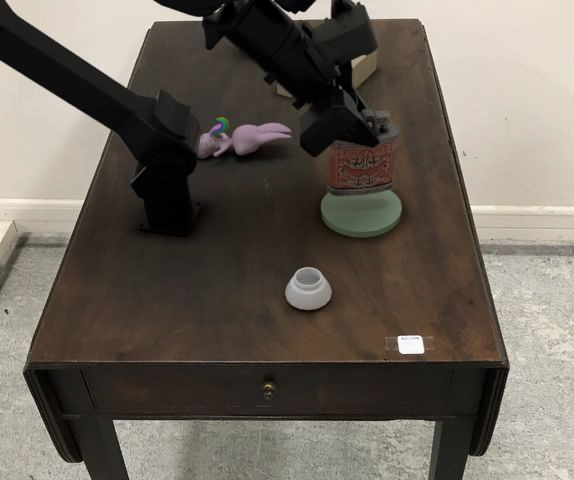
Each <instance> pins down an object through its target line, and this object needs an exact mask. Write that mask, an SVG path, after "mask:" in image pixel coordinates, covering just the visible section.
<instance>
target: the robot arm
mask: <svg viewBox="0 0 574 480" xmlns="http://www.w3.org/2000/svg"><path fill="white" fill-rule="evenodd" d="M152 1H153V2H155V3H156V4H158V5H159V6H161V7H165V8H167V9H170V10H173V11H175V12H179V13H181V14H185V15H187V16H191V17H195V18H201V26H202V30H203V33H204V43H205V44H204V48H205V49H206V50H207V51H212V50H213V49H214V48H215V47H216V46H217V45H218V44H219V42H220V41H221V40H222V39H223V38H225V39H226V40H227V41H228V42H230V44H232V45H233V46H234V47H235V48H236V49H237V50H239V51H240V52H241V53H242V54H243V55H244V56H245V57H247V58H248V59H249V60H250V61H251V62H252V63H253V64H255V65H256V67H258V68H259V69H260V70H261V71H262V80H263V81H264V82H265V83H266V84H267V85H269V86H272V85H273V83H274V82H275V83H276V85H277V84H279V85H280V86H281V87H282V88H283V89H284V90H285V91H286V92H288V93H289V94H290V95H291V97H290V101H291V106H292V107H294V108H295V110H297V111H300V109H301V108H303V107H304V106H305V105H306V104H309V107H308V109H307V110H306V111H305V112H304V113H303V114H302V115H300V117H299V119H298V120H299V122H298V127H299V147H300V148H301V149H302V150H303V151H304V152H306V154H308V155H309V156H311V157H312V158H318V157H319V156H320V155H321V154H323V153H324V151H325V150H327V149H328V148H330V145H331V144H332V143H333V142H335V141H336V140H339V141H344V142H349V143H353V144H358V145H362V146H367V147H371V148H374V147H375V146H377V145H378V144H379V143H380V140H379V138H378V137H377V136H376V134H375V133H374V131H373V130H372V129H371V127H370V126H369V125H368V124H367V122H366V121H365V120H364V118H363V117H362V116H361V114H360V113H361V111H362V110H363V109H367V108H369V107H368V106H367V104H366V102H365V101H364V98H363V97H362V96H361V94H360V92H359V91H358V89H357V88H355V86H354V84H353V82H352V71H353V68H352V62H351V61H352V60H354V59H356V58H358V57H360V56H362V55H366V56H367V55H369V54H371V53H373V52H374V51H375V50H376V49H377V50H378V48H379V43H378V39H377V33H376V30H375V28H374V25H373V23H372V20H371V18H370V15H369V13H368V11H367V8H366V6H365V5H364V4H362V3H361V1H358V2H354V1H353V0H331V1H330V17H328V16H327V17H325V18H324V19H323V20H324V22H323V23H321V24H319V25H317V26H316V27H313V26H312V25H311V24H310V23H309V21H307V20H304V21H303V20H302V19H300V20H298V22H296V20H295V21H294V19H293V18H292V17H290V15H288V13H292V14H293V15H295V16H296V15H297V14H298V13H299V12H300V13H306V12H307V11H308V10H309V9H310V8H311V7H312V6H313V5H314V4H315V3H316V2H317V0H152ZM286 12H287V13H286ZM0 62H1V63H3V64H5V65H6V66H8V67H9V68H11V69H12V70H14V71H15V72H17V73H19V74H20V75H22V76H24V77H25V78H27V79H28V80H30V81H32V82H33V83H34V84H36V85H38V86H39V87H42V88H43V89H45V90H46V91H47V92H49V93H51V94H52V95H54V96H55V97H57V98H59V99H60V100H62V101H63V102H66V104H68V105H70V106H72V107H73V108H75V110H76V109H77V110H78V111H80V112H81V113H83V114H84V115H86V116H88V117H89V118H91V119H92V120H93V121H95V122H97V123H99V124H101V125H102V126H103V127H105V128H107V129H109V130H110V131H112V132H113V133H114V134H116V135H117V136H118V137H119V139H120V140H121V142H122V143H123V144H124V146H125V147H126V149H127V150H128V152H129V153H130V154H131V156H132V157H133V158H134V160H135V161H136V162H135V166H134V170H133V174H132V178H131V182H130V187H131V189H132V190H133V192H134V193H135V194H136V196H137V197H138V199H142V202H143V207H144V212H145V213H144V214H143V216H142V218H141V219H140V221H139V222H138V224H137V229H138V231H140V232H147V233H155V234H162V235H170V236H176V237H187V236H188V235H189V233H190V231H191V230H192V228H193V226H194V224H195V222H196V220H197V219H198V217H199V215H200V214H201V212H202V210H203V207H204V204H203V202H201V201H195V200H192V196H191V190H190V185H189V179H188V178H189V177H190V176H191V175H192V174H193V173H194V172H195V170H196V169H197V164H198V150H199V144H200V137H201V136H202V130H201V125H200V121H199V120H198V118H197V117H196V116H195V115H194V114H193V113H192V106H191V105H187V104H184V103H182V102H180V101H178V100H177V99H176V98H174V97H173V96H172V95H171V94H170V92H168V91H166V90H164V89H162V88H160V89H159V90H158V93H157V95H156V97H151V96H150V97H149V96H143V95H139V94H137V93H135V92H133V91H132V90H131V89H129V88H128V87H126V86H125V85H123V84H121V83H120V82H118V81H117V80H115V79H114V78H112V77H111V76H110V75H108V74H107V73H104V72H103V71H102V70H100V69H99V68H97V67H95V66H94V65H93V64H91V63H90V62H88V61H87V60H85V59H84V58H82V57H81V56H79V55H78V54H76V53H75V52H73V51H72V50H70V49H69V48H67V46H64V45H63V44H61V43H59V42H58V41H57V40H55V39H54V38H53V37H50V36H49V35H48V34H47V33H45V32H43V31H42V30H40V29H39V28H38V27H36V26H34V25H33V24H31V23H30V22H28V21H27V20H26V19H24V18H22V17H21V16H19V14H17V13H16V12H15V11H14V10H13V8H12V7H11V6H10V5H9V3H8V2H7V1H6V0H0Z"/></svg>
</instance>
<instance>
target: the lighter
mask: <svg viewBox="0 0 574 480" xmlns="http://www.w3.org/2000/svg"><path fill="white" fill-rule="evenodd" d="M390 113H391V112H389V111H388V110H379V111H373V110H372V109H371V108H369V107H368V108H367V109H363V110H362V111H361V113H360V114H361V116H362V117H363V118H364V120H365V121H366V122H367V124H368V125H369V126H370V127H371V129H372V130H373V131H374V133H375V134H376V136H377V137H378V138H379V140H380V143H379V144H378V145H377V146H375V147H374V148H371V147H367V146H362V145H358V144H353V143H349V142H344V141H339V140H336V141H335V142H333V143H332V144H331V145H330V146H329V154H328V156H329V157H328V158H329V160H328V180H327V184H326V185H327V186H326V190H327V193H329V194H331V195H333V196H362V195H369V194H375V193H380V192H384V191H388V190H392V189H393V187H394V182H395V181H394V177H393V175H394V166H395V156H396V148H397V147H396V146H397V140H398V138H399V133H400V131H399V127H397V126H396V125H394V124H391V123H390V119H391V118H390V117H391V114H390Z"/></svg>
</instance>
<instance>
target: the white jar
mask: <svg viewBox="0 0 574 480" xmlns="http://www.w3.org/2000/svg"><path fill="white" fill-rule="evenodd" d="M332 293H333V291H332V287H331V285H330V283H329V282H328V280H327V278H326V277H325V276H324V275H323V274H322V272H321V271H320V269H317V268H314V267H309V266H307V267H303V268H299V269H297V270H296V272H295V273H294V275H293V276H292V277H291V279H290V280H289V282H288V283H287V285H286V288H285V291H284V295H285V298H286V301H287V302H288V303H289V304H290V305H291V306H292V307H295V308H297V309H299V310H305V311H306V310H307V311H311V310H317V309H320V308H322V307H324V306H326V305H327V304H328V302H329V301H330V300H331V297H332Z"/></svg>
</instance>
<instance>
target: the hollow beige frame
mask: <svg viewBox="0 0 574 480" xmlns="http://www.w3.org/2000/svg"><path fill="white" fill-rule="evenodd" d="M377 55H378V48H377V49H376V50H375V51H374V52H373V53H371V54H369V55H367V56H366V55H362V56H360V57H358V58H356V59H354V60H352V61H351V62H352V68H353V71H352V82H353V84H354V86H355V88H356V89H357V88H359V86H360V85H362V84H363V83H364V82H365V81H366V80H367V79H368V78H369V77H370V76H371V75H372V74H373V73H374V72H376V70H377ZM276 87H277V88H276V89H277V90H276V91H277V95H280V96H283V97H288V98H291V95H290V94H289V93H288V92H286V91H285V90H284V89H283V88H282V87H281V86H280V85H279V84H277V83H276Z"/></svg>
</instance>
